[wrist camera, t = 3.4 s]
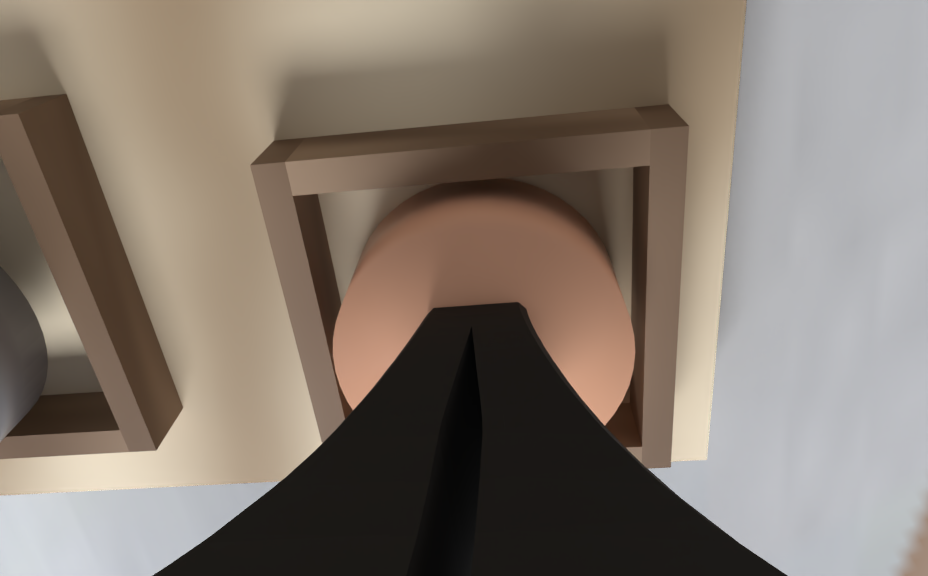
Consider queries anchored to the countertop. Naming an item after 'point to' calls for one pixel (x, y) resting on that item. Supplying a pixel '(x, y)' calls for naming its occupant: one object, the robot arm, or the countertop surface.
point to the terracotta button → (488, 284)
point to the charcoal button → (19, 356)
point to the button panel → (331, 204)
